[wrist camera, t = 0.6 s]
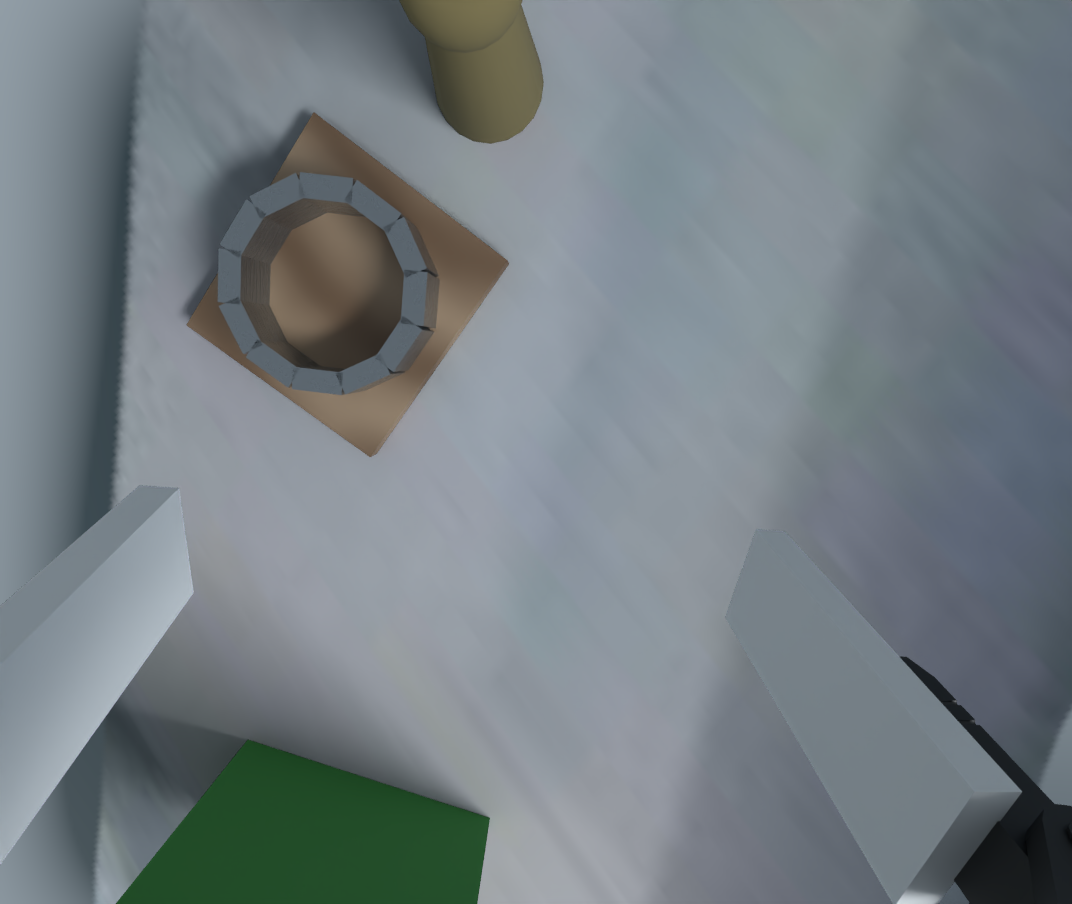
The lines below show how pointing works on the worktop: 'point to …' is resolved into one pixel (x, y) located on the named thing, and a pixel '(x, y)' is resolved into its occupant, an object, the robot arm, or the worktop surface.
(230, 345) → the walnut board
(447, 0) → the cork
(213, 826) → the cereal box
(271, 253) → the steel collar
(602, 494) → the worktop surface
